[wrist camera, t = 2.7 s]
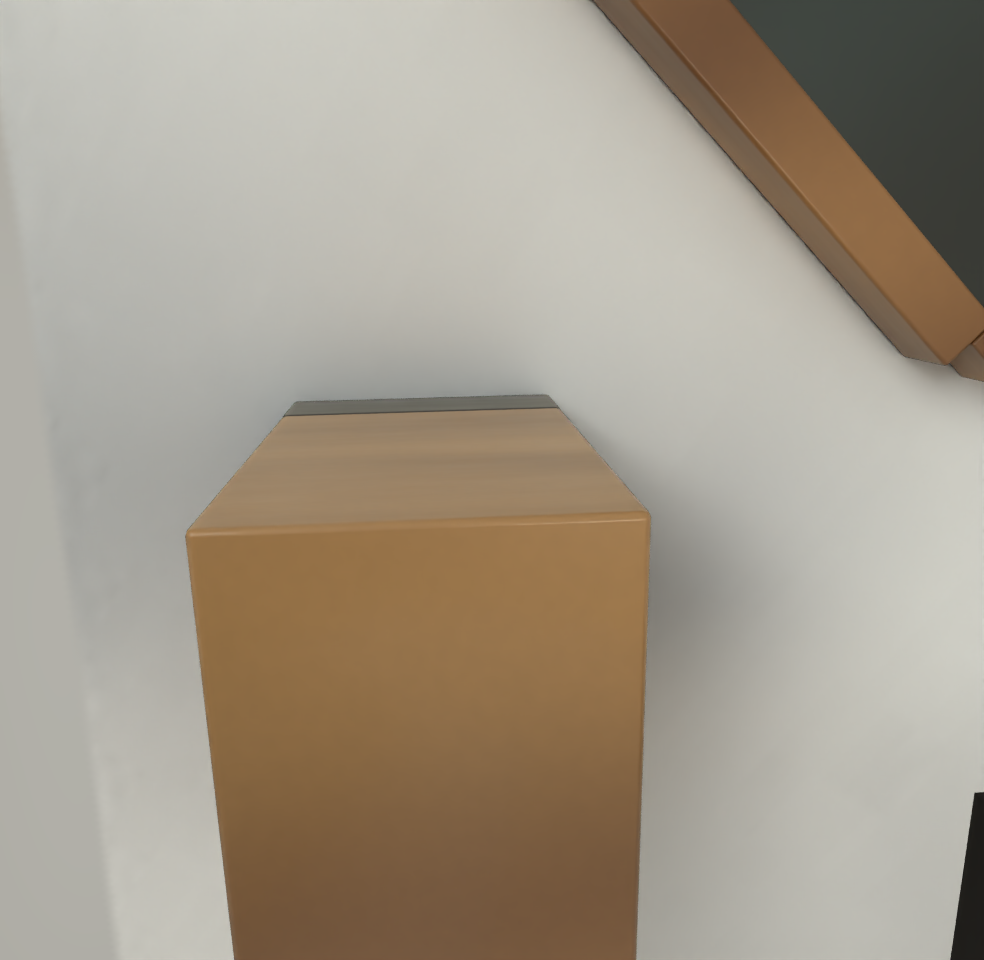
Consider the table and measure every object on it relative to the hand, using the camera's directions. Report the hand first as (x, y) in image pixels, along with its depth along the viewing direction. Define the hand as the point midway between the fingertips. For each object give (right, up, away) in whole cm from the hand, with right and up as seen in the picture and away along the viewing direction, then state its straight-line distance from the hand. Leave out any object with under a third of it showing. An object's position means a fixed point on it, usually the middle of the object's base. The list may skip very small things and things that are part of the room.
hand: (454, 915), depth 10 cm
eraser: (-1, +2, +8) cm, 8 cm away
